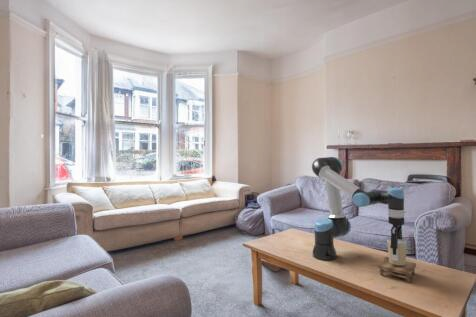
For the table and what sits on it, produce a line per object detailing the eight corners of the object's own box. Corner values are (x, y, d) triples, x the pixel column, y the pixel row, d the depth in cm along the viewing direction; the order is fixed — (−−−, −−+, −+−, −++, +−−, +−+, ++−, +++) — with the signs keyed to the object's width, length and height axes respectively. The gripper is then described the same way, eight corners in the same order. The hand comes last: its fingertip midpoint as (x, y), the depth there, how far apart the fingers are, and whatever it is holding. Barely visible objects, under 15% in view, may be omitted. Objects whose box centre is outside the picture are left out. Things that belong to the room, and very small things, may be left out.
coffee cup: (403, 259, 150) (402, 238, 149) (410, 266, 140) (409, 244, 140) (385, 258, 151) (384, 237, 151) (391, 265, 142) (390, 243, 142)
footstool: (378, 275, 146) (378, 265, 145) (385, 265, 157) (385, 256, 157) (410, 283, 136) (410, 273, 135) (416, 273, 147) (415, 263, 146)
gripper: (399, 222, 135) (400, 265, 135) (408, 213, 151) (408, 252, 151) (383, 219, 140) (384, 262, 140) (393, 211, 156) (394, 249, 156)
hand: (397, 257), depth 146 cm, fingers closed on coffee cup, 9 cm apart
